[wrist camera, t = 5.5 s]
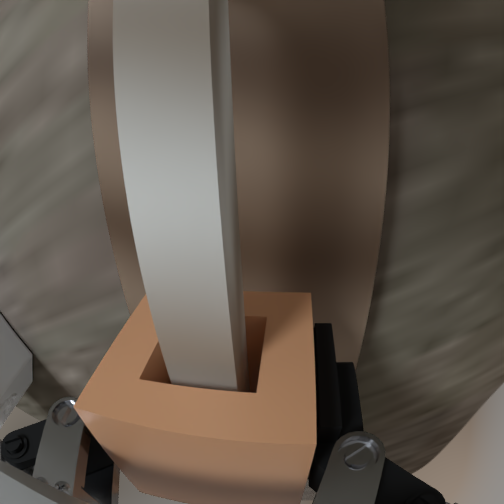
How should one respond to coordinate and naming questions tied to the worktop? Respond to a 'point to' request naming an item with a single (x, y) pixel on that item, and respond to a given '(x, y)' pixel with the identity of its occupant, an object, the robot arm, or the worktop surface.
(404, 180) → the worktop surface
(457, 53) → the worktop surface
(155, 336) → the sleeve
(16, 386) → the jar
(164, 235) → the cube slider rail
